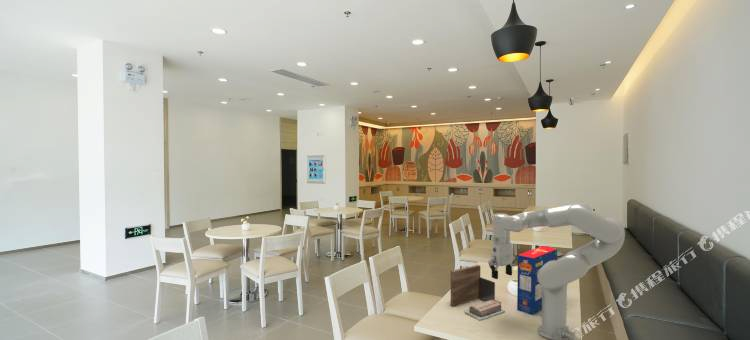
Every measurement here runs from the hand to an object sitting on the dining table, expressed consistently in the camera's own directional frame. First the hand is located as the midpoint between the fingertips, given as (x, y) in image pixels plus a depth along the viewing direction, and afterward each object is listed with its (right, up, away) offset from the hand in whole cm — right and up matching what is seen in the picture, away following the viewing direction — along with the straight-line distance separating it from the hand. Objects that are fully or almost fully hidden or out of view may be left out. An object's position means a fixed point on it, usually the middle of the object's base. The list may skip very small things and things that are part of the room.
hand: (501, 276), depth 168 cm
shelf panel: (-12, -20, +21) cm, 31 cm away
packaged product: (-6, -21, +8) cm, 23 cm away
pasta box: (+25, -20, +18) cm, 37 cm away
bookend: (+2, -20, +23) cm, 30 cm away
